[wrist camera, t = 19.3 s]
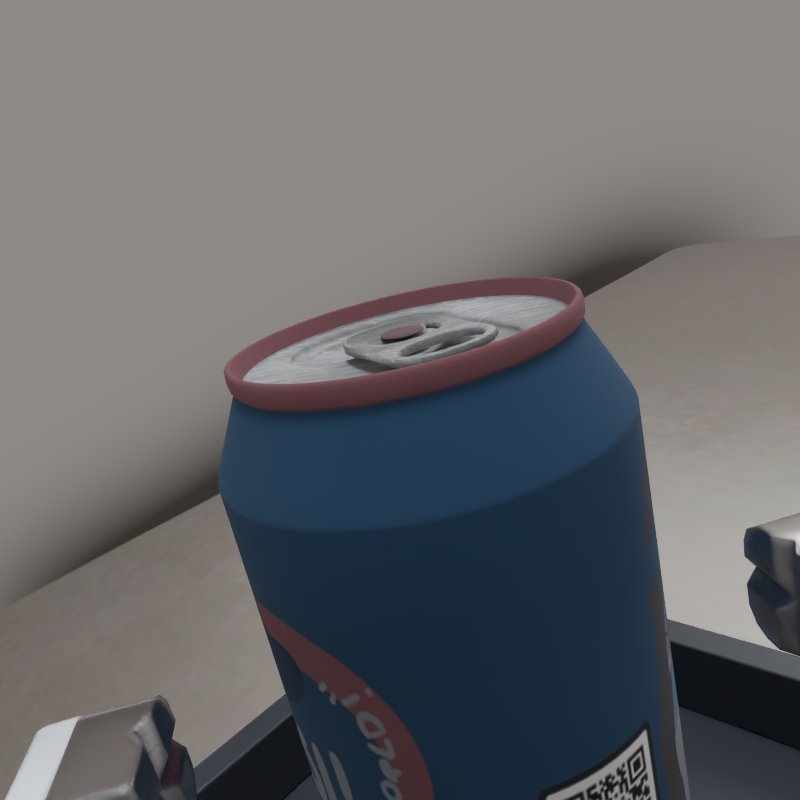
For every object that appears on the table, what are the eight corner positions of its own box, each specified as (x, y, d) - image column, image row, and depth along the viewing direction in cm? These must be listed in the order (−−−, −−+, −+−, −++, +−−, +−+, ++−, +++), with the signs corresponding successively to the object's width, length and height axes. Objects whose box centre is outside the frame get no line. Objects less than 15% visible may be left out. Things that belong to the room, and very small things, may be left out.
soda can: (317, 842, 17) (153, 358, 13) (551, 700, 19) (467, 264, 16) (474, 1178, 11) (248, 450, 7) (785, 906, 13) (736, 269, 10)
